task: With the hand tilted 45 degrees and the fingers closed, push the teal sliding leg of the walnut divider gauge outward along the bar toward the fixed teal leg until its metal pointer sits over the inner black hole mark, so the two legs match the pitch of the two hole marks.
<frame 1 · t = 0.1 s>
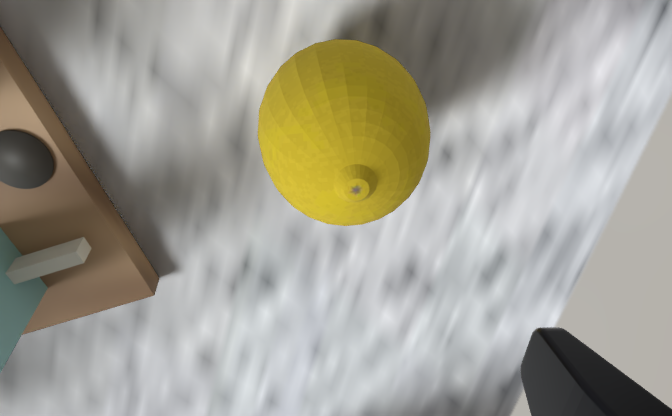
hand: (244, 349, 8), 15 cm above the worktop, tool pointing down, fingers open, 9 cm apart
lemon: (332, 86, 21), on the worktop
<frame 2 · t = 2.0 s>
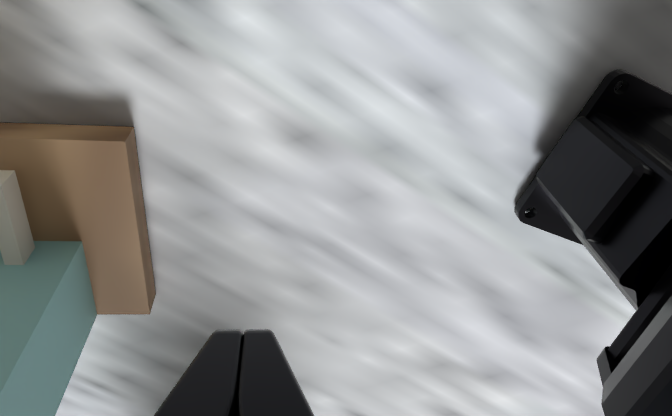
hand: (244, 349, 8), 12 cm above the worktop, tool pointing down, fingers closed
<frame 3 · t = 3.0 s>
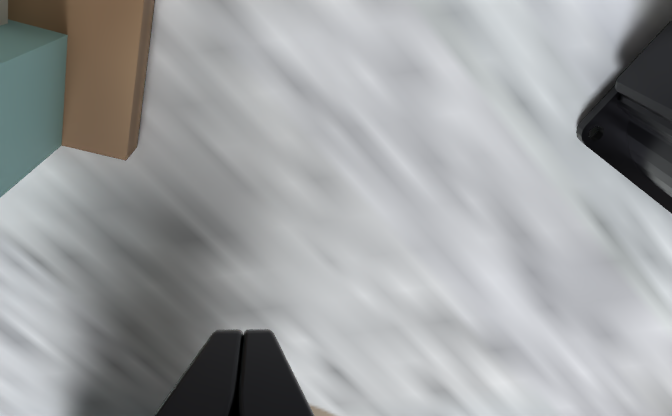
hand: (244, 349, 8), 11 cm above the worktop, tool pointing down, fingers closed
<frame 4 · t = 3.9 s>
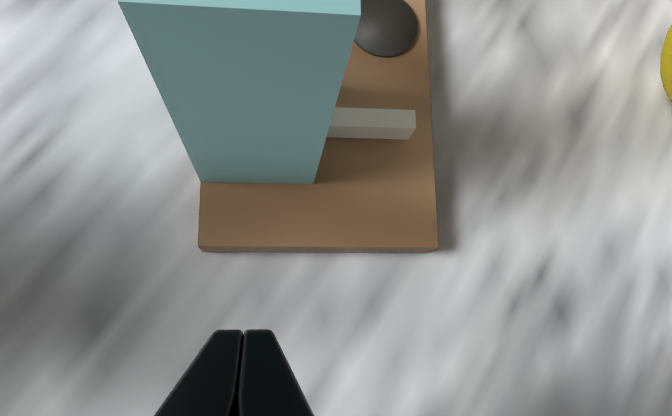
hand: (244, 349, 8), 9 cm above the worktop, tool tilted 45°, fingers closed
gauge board: (317, 66, 20), on the worktop
sliding leg: (318, 61, 13), point 6 cm above the worktop, slide at 0.0 cm
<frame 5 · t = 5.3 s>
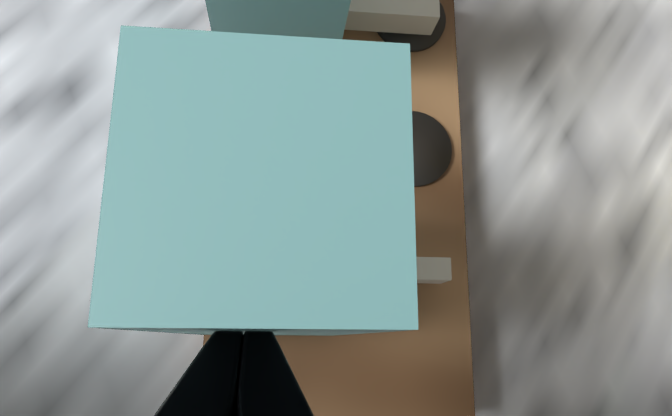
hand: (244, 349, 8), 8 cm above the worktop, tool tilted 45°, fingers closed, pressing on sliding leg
fixed leg: (278, 43, 18), resting on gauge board
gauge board: (336, 188, 17), on the worktop
sliding leg: (345, 244, 11), point 6 cm above the worktop, slide at 0.2 cm, touching gripper
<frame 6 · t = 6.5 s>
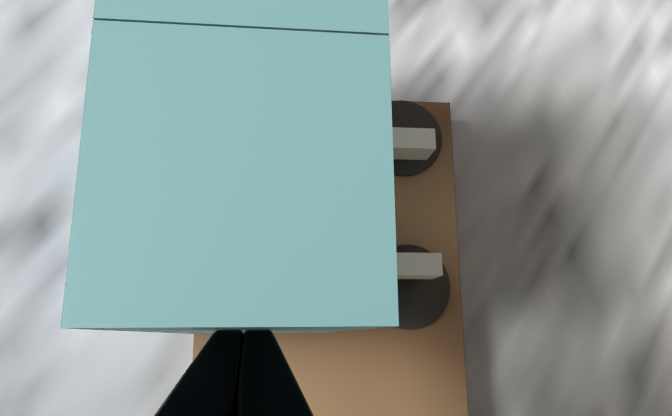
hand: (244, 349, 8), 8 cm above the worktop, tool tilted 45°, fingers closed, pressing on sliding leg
fixed leg: (264, 162, 17), resting on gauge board
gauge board: (328, 323, 16), on the worktop
sliding leg: (332, 241, 11), point 6 cm above the worktop, slide at 4.5 cm, touching gripper
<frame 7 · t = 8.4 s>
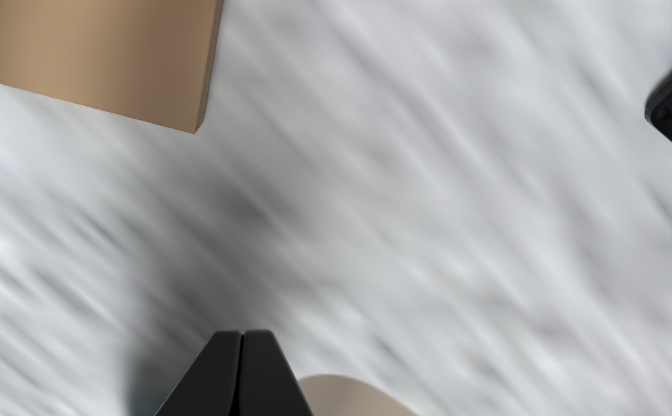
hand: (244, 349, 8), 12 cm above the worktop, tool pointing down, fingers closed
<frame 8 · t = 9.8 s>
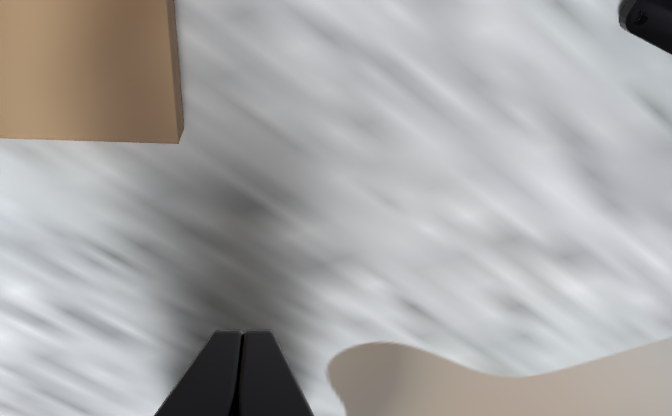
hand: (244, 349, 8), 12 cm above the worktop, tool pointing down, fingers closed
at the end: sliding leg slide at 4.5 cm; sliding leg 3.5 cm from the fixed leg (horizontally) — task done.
